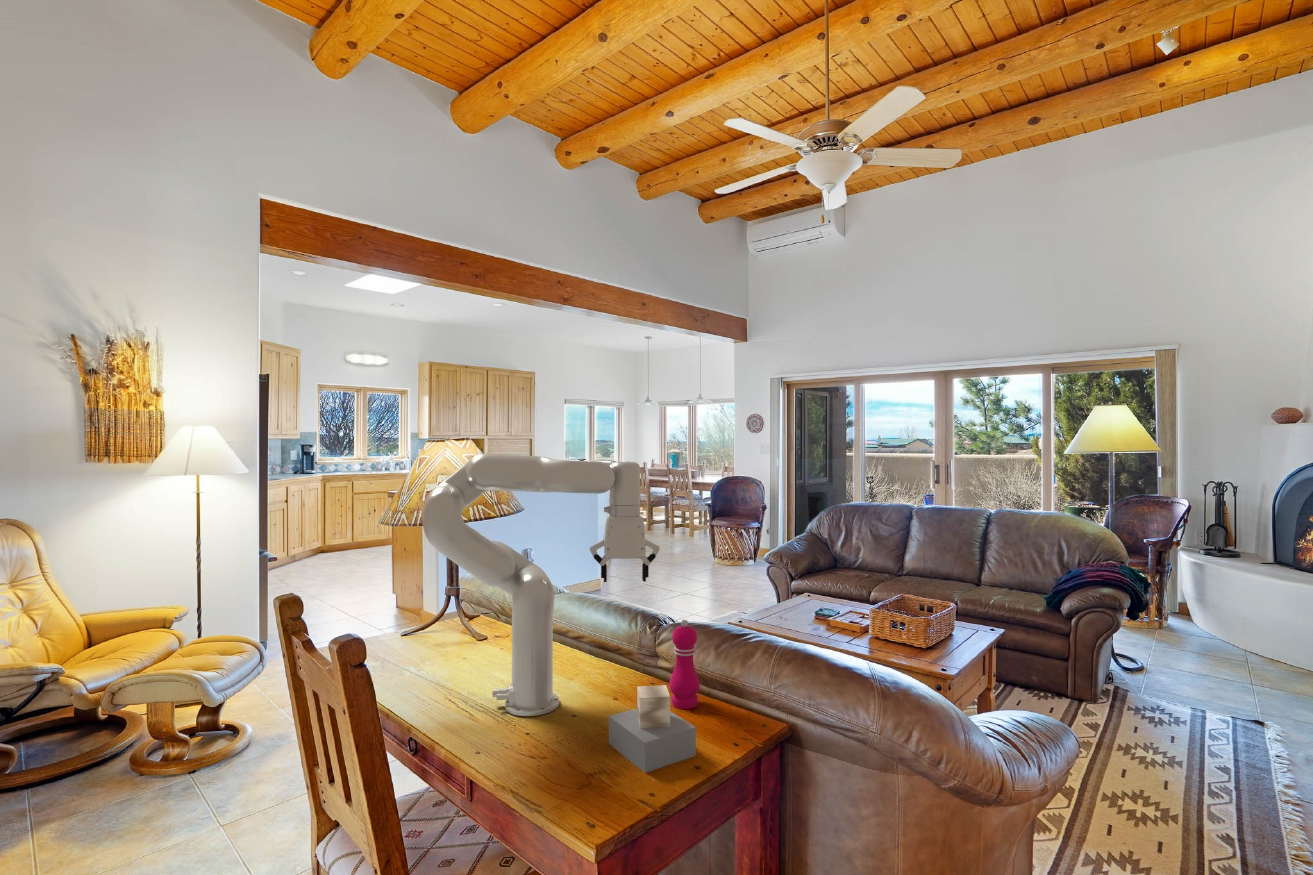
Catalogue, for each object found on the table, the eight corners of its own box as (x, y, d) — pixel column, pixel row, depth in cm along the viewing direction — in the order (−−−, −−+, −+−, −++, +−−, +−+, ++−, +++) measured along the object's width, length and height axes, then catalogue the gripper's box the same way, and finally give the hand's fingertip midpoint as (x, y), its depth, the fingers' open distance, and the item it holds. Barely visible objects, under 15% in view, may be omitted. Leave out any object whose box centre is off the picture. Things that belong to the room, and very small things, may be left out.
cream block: (640, 728, 124) (640, 697, 124) (637, 715, 130) (637, 686, 130) (670, 726, 125) (670, 696, 125) (665, 713, 131) (665, 685, 131)
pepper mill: (690, 712, 145) (690, 625, 145) (663, 705, 149) (663, 621, 149) (705, 701, 151) (705, 618, 151) (679, 695, 155) (679, 614, 155)
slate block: (644, 774, 118) (644, 742, 118) (608, 745, 130) (608, 715, 130) (695, 757, 125) (695, 727, 125) (657, 730, 137) (657, 702, 137)
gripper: (589, 513, 151) (589, 584, 151) (661, 512, 153) (660, 583, 153) (590, 510, 159) (589, 578, 158) (658, 509, 160) (658, 577, 160)
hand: (624, 580), depth 155 cm, fingers open, 9 cm apart
